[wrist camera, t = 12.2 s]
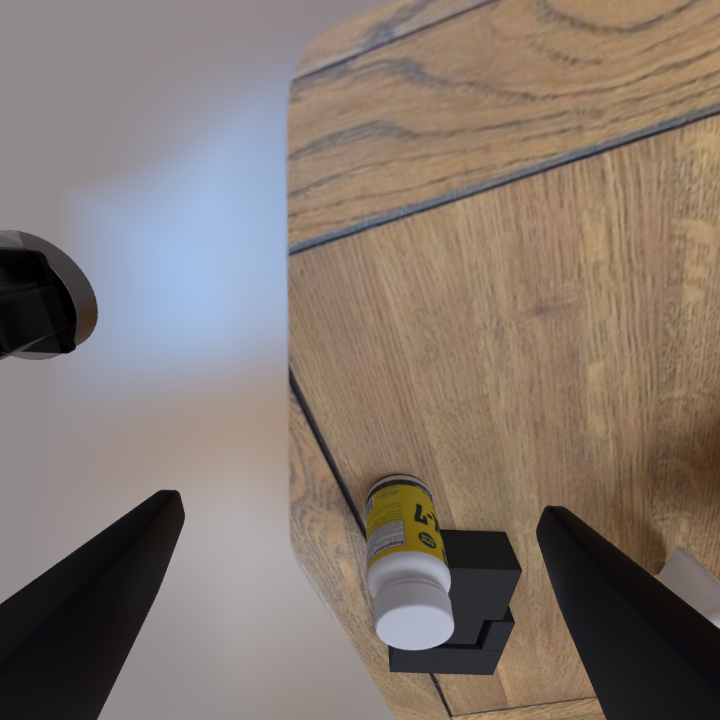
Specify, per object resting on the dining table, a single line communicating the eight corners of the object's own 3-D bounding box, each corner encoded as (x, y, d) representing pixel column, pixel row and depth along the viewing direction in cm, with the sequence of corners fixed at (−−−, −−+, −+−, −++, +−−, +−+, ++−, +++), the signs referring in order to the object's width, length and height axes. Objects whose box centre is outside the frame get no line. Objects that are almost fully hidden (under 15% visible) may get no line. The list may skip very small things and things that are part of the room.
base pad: (387, 632, 32) (389, 672, 29) (395, 579, 29) (399, 619, 26) (481, 635, 32) (492, 675, 30) (501, 583, 29) (515, 623, 26)
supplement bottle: (442, 505, 25) (478, 639, 17) (387, 528, 26) (397, 664, 18) (411, 462, 23) (435, 590, 16) (353, 489, 24) (349, 621, 17)
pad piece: (402, 602, 30) (406, 642, 27) (415, 528, 26) (421, 567, 23) (481, 605, 30) (492, 645, 28) (506, 532, 26) (522, 570, 23)
